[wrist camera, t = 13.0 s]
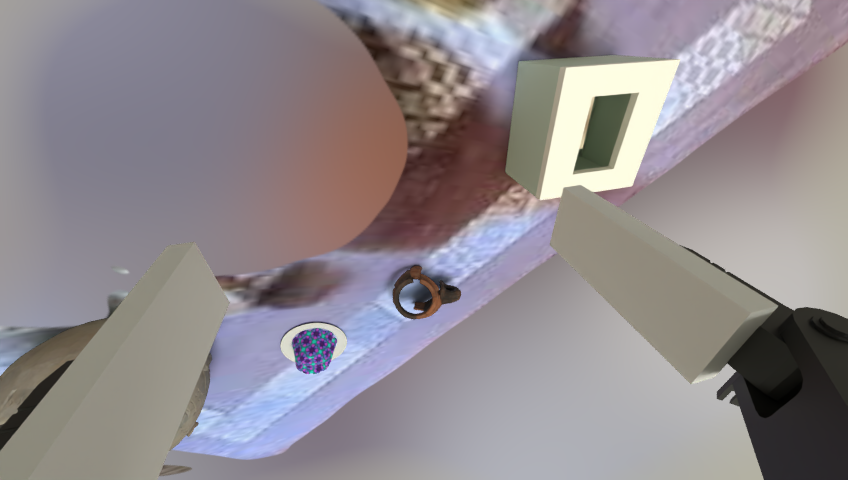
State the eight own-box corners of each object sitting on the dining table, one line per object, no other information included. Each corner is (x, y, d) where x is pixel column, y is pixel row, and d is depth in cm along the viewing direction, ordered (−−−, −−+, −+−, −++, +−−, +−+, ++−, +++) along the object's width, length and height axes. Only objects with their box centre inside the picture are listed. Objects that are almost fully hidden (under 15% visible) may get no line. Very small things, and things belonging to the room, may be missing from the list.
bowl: (65, 393, 51) (-20, 504, 39) (21, 293, 40) (-116, 403, 28) (223, 388, 59) (193, 478, 47) (221, 304, 48) (182, 393, 36)
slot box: (518, 61, 39) (566, 67, 31) (613, 55, 41) (680, 59, 33) (505, 172, 47) (539, 200, 39) (584, 161, 50) (631, 186, 41)
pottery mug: (401, 309, 59) (393, 328, 51) (394, 263, 58) (385, 274, 50) (462, 303, 58) (464, 322, 50) (456, 256, 57) (457, 267, 48)
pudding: (347, 357, 63) (347, 380, 59) (285, 364, 60) (281, 389, 56) (346, 317, 57) (347, 339, 53) (277, 323, 54) (271, 347, 49)
